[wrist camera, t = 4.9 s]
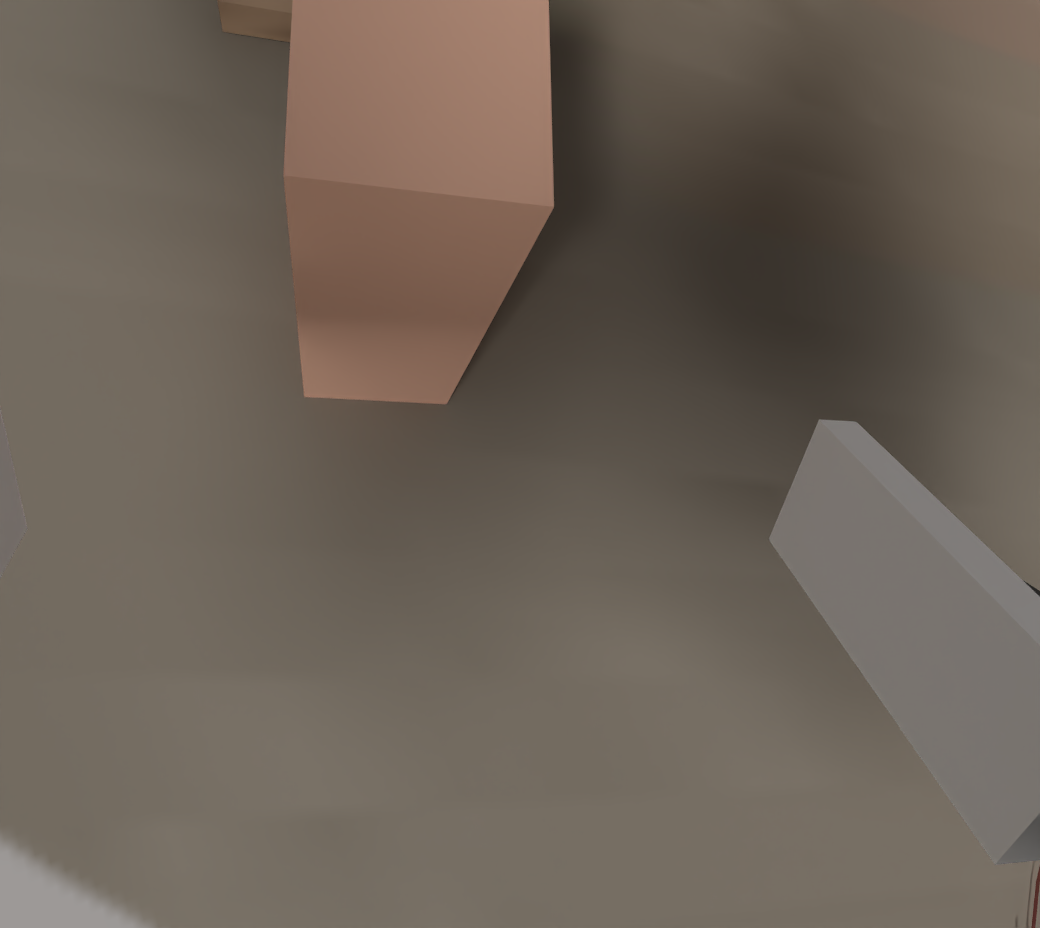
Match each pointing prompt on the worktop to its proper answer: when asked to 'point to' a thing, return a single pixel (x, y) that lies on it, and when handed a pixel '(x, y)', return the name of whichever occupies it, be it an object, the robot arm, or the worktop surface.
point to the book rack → (257, 18)
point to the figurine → (1036, 900)
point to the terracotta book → (411, 184)
